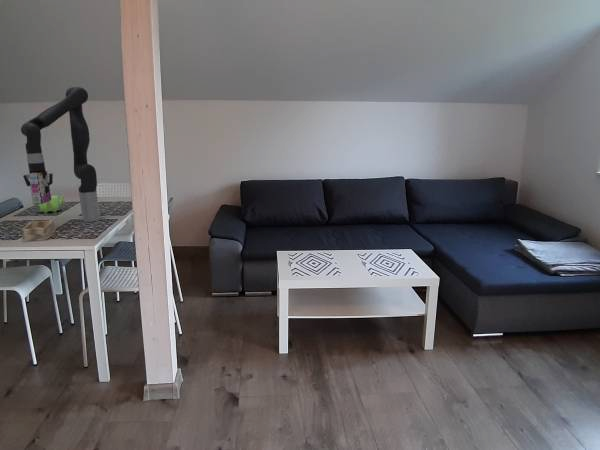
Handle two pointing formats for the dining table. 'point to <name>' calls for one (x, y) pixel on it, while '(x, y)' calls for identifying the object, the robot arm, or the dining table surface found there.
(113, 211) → the dining table surface
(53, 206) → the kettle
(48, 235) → the crate
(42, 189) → the candy bar box
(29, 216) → the dining table surface
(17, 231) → the dining table surface
